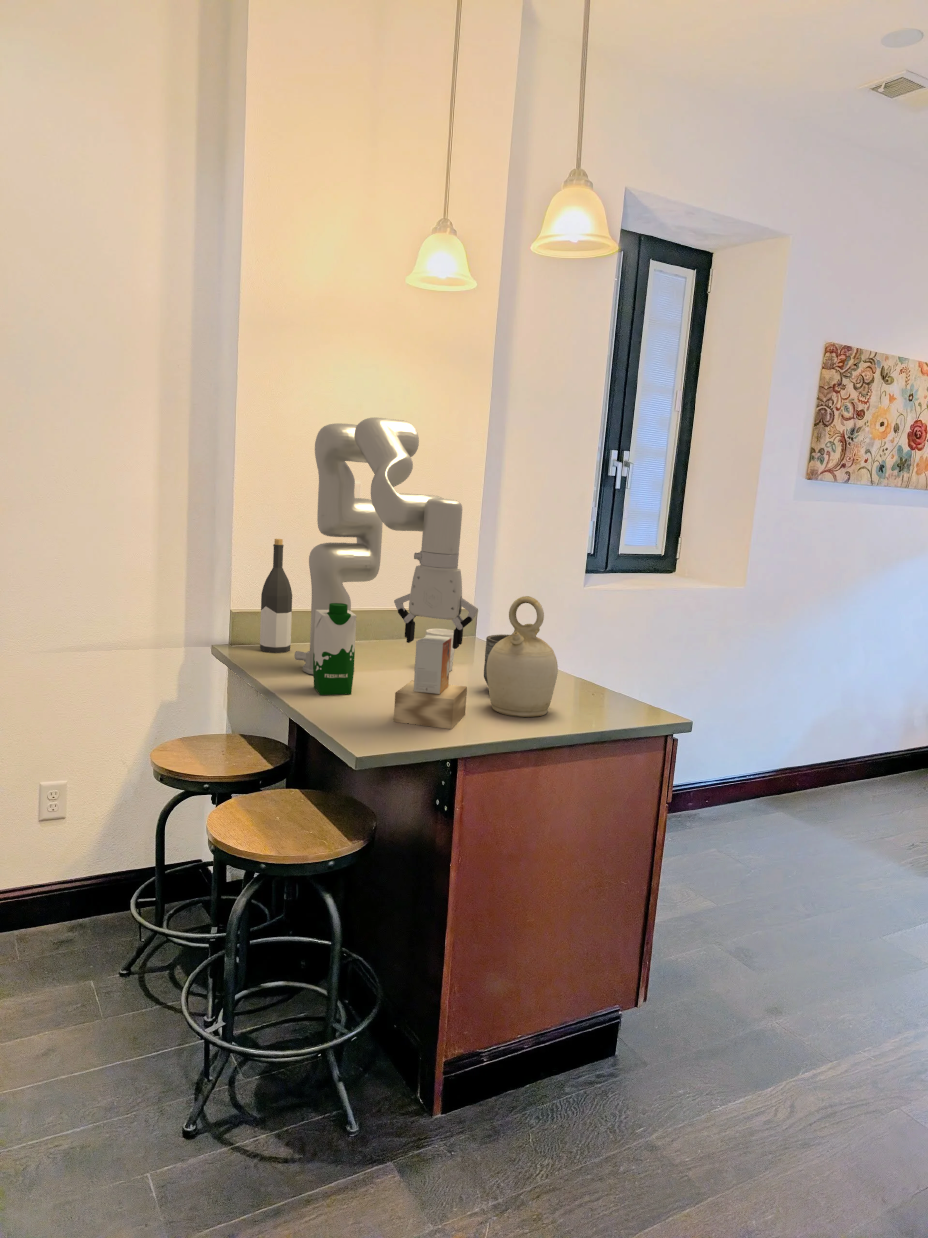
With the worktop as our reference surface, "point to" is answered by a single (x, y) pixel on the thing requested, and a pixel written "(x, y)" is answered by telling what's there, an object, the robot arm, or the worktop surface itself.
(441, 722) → the beech block
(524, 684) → the jug
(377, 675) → the worktop surface
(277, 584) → the wine bottle
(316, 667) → the milk carton
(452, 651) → the white cup
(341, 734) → the worktop surface
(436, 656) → the small box
